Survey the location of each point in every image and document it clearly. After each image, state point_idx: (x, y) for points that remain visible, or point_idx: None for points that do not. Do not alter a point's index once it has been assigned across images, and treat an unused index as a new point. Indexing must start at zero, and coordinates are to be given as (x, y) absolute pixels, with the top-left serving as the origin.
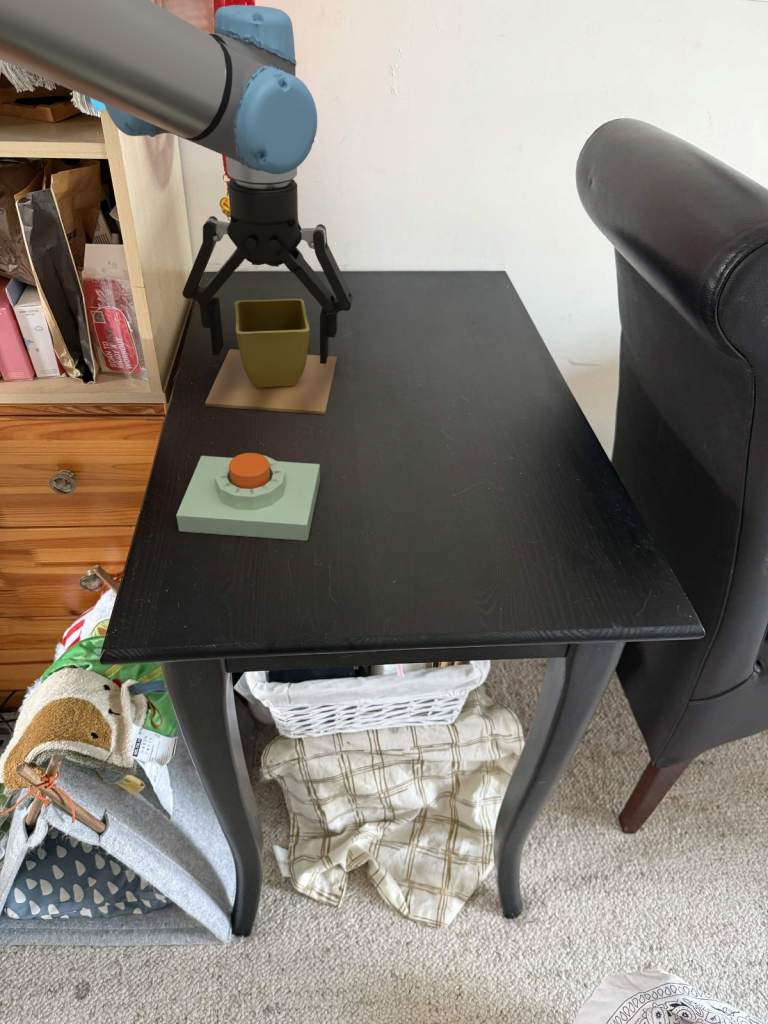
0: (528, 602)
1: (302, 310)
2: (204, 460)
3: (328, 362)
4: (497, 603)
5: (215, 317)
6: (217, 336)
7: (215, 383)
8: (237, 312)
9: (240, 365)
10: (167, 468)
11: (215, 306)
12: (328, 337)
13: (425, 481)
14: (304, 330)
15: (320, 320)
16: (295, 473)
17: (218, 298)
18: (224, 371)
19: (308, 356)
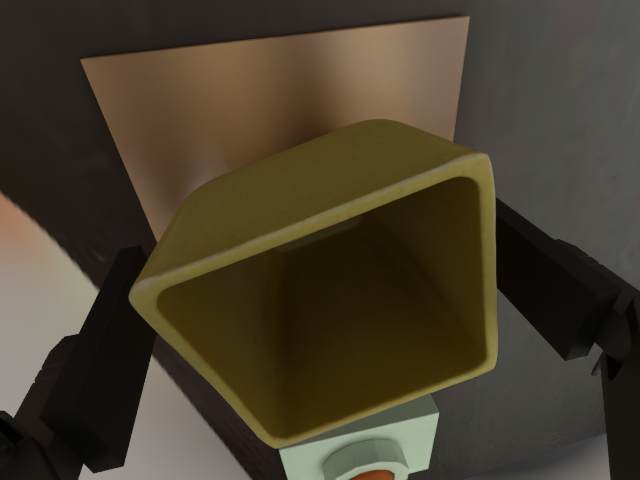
0: (589, 427)
1: (482, 265)
2: (287, 454)
3: (442, 68)
4: (565, 435)
5: (134, 410)
6: (151, 341)
7: None
8: (205, 369)
9: (183, 160)
10: (225, 432)
11: (115, 444)
12: (518, 215)
13: None
14: (481, 372)
15: (551, 344)
16: (410, 432)
17: (79, 415)
18: (157, 205)
19: (377, 43)
